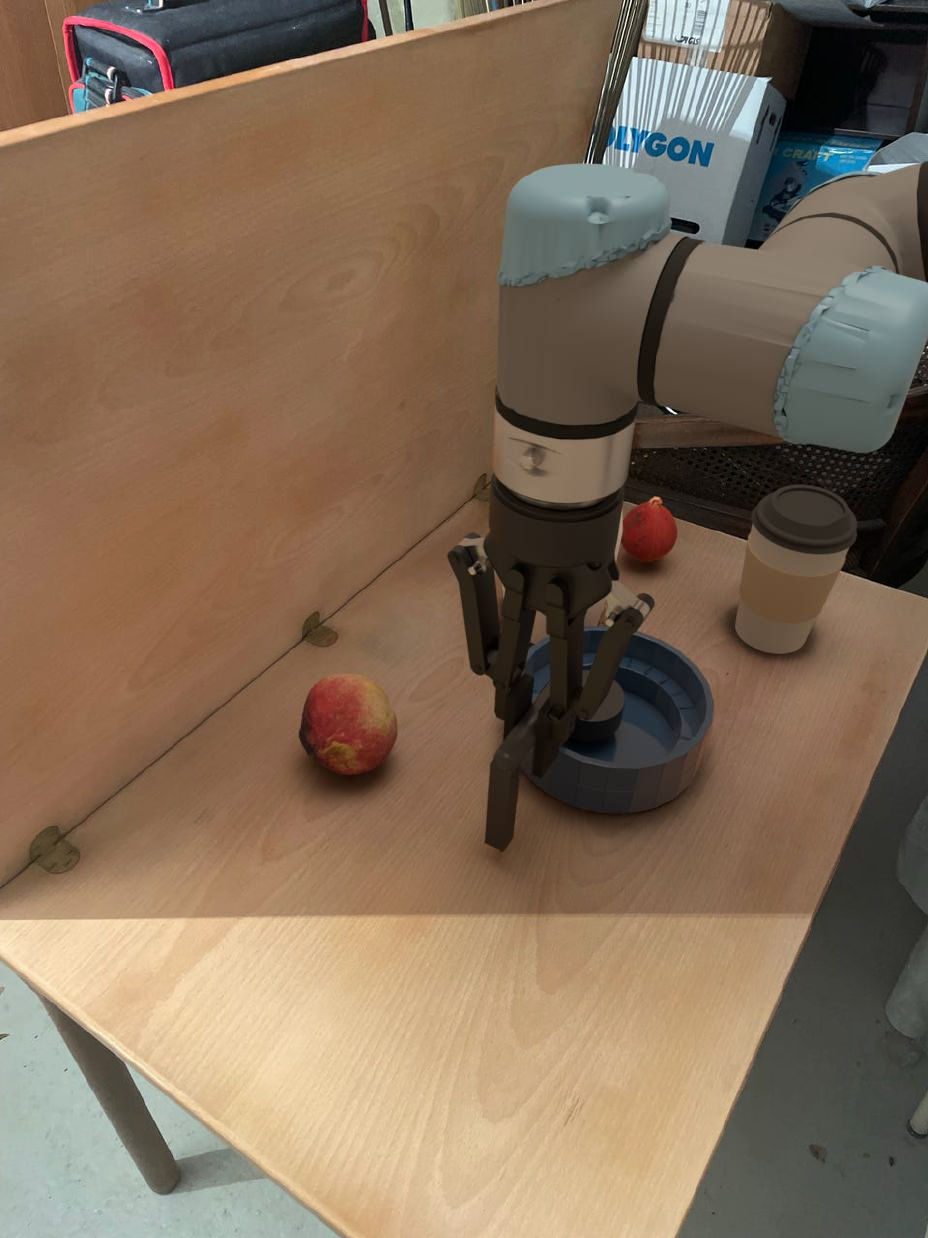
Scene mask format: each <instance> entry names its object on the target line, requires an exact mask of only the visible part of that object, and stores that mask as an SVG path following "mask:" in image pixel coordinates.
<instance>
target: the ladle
mask: <svg viewBox="0 0 928 1238" xmlns="http://www.w3.org/2000/svg"><path fill="white" fill-rule="evenodd" d="M589 672H590V670H583V679H582V687H584V685H585V683H586V680H587V677H588V675H589ZM549 696H550V681H549V682H548V684H547V685H546V686H545V688H544V689H543V690H542V692H541V693H540V694H539V695H538V697H537V698H536V699H535V701H534V702H533V703H532V705H531V706H530V707H529V709H528V710H527V711H526V712H525V714H524V715H523V716H522V718H521V719H520V720H519V722H518V723H517V724H516V726H515V727H514V728H513V730H512V731H511V732H510V733H509V735H508V736H507V737H506V739H505V740H504V741H503V740H502V742H501V744H500V745H499V746H498V748H497V749H496V751H494V754H493V758H492V760H491V762H490V763H489V775H488V788H487V789H488V790H487V803H486V817H485V818H486V819H485V831H484V844H486V845H487V846H489V847H491V848H494V849H495V850H497V851H499V852H500V853H505V851H506V849H508V846H509V845H510V844H511V842H512V841H513V840H514V838H515V837H514V836H515V826H516V818H517V811H518V810H517V808H518V801H519V800H518V798H519V790H520V789H519V788H520V781H521V771H522V769H521V763H522V761H523V759H524V758H525V756H526V755H527V754H528V752H529V751H530V750H531V748H532V747H533V745H534V744H535V743H536V732H537V722H538V713H539V710H540V708H541V707H542V706H543V704H544V703H545V702H546V700H547V699H548V698H549ZM624 705H625V694H624V692H623V689H622V688H621V686H620V685H619V684H618V683H617V682H616V681H615V680H614V681H613V683H612V686H611V688H610V691H609V693H608V695H607V697H606V698H605V700H604V701H603V703H602V704H601V706H600V707H599V709H598V710H597V712H596V713H595V715H594V716H593V718H592V719H591V720H583V719H581V718H580V717H579V716H578V715H577V714H576V719H575V720H576V721H575V728H574V730H573V732H572V733H571V735H570V737H573V738H575V739H579V740H584V741H596V740H601V739H605V738H607V737H609V736H611V735H612V734H614V733H615V732H616V731H617V729H618V728H619V726H620V724H621V720H622V715H623V710H624Z"/></svg>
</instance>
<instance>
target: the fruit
mask: <svg viewBox="0 0 928 1238" xmlns="http://www.w3.org/2000/svg"><path fill="white" fill-rule="evenodd" d="M397 721H398V719H397V715H396V713H395V710H394V708H393V706H392V704H391V702H390V699H389V697H388V695H387V693H386V692H385V690H384V689H383V688H382V687H381V686H380V685H379V684H378V683H376V682H375V681H374V680H372V679H371V678H369V677H367V676H365V675H361V674H355V673H340V674H330V675H327V676H326V677H322V678H321V679H320V680H319V681H317V683H315V684H314V685H313V687H311V688H310V690H309V692H308V693H307V696H306V699H305V701H304V706H303V709H302V713H301V721H300V728H299V730H298V738H299V741H300V744H301V746H302V747H303V749H304V750H305V753H306V754H307V756H308V757H309V758H312V760H313V762H316V764H319V765H320V766H321V767H324V768H325V769H327V770H330V771H331V772H334V773H336V774H339V775H346V776H347V775H349V776H350V775H351V776H353V775H360V774H364V773H367V772H369V771H371V770H374V769H375V768H377V767H379V766H380V765H381V764H382V763H383V762H384V761H385V760H386V759H387V758H388V756H389V755H390V753H392V750H393V749H394V747H395V743H396V741H397V738H398V722H397Z"/></svg>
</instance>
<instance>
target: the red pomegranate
mask: <svg viewBox="0 0 928 1238" xmlns="http://www.w3.org/2000/svg"><path fill="white" fill-rule="evenodd" d="M662 504H663V501H662V498H661V496H653V497H652V498H649V500H647V502H642V503H640V504H637V505H636V506H635V507H633V508H631V509H630V511H629V512H628V513H627V514H626V515H625V517H623V533H622V537H621V542H620V545H621V546H622V548H623V550H624V551H625V552H626V553H627V555H628V556H630V557H631V558H633V559H635V560H637V561H639V562H641V563H644V564H646V563H650V562H652V561H656V560H659V559H662V558H664V557H665V556H667V555H668V554H669V553H670V552H671V551H672V550H673V548H674V546H675V544H676V542H677V539H678V527H677V523H676V519H675V518H674V515H673V514H672V513H671V512H670V511H669V510H668V508H667V507H666V506H664V505H662Z"/></svg>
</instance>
